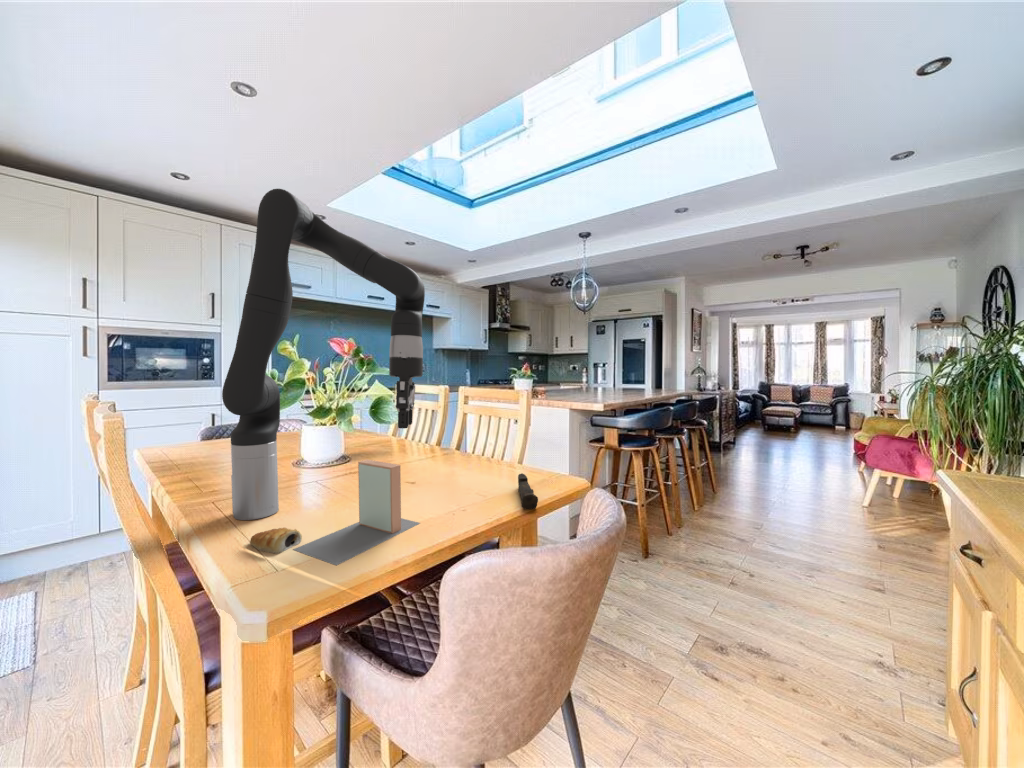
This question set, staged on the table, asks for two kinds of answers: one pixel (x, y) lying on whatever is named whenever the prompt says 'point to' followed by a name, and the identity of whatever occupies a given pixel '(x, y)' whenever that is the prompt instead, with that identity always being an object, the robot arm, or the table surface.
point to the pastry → (276, 540)
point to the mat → (349, 542)
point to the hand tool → (526, 493)
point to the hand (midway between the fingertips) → (405, 426)
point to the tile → (379, 495)
